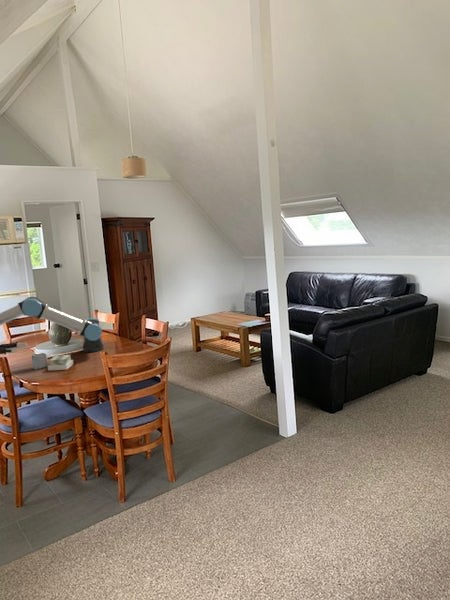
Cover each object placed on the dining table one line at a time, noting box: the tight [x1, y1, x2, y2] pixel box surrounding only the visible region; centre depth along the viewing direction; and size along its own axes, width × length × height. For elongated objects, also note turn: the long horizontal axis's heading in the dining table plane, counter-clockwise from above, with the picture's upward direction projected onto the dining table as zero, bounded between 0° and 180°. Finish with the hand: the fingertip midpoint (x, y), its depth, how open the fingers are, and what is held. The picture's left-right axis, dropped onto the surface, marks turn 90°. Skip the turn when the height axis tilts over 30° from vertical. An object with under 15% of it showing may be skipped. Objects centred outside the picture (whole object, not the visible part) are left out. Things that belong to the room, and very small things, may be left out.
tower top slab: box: [49, 354, 72, 366], centre depth 290 cm, size 10×10×4 cm
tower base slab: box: [47, 359, 74, 371], centre depth 291 cm, size 12×12×4 cm
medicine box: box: [31, 352, 49, 370], centre depth 292 cm, size 8×4×9 cm, turn 141°
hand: (21, 347), depth 290 cm, fingers open, 13 cm apart
